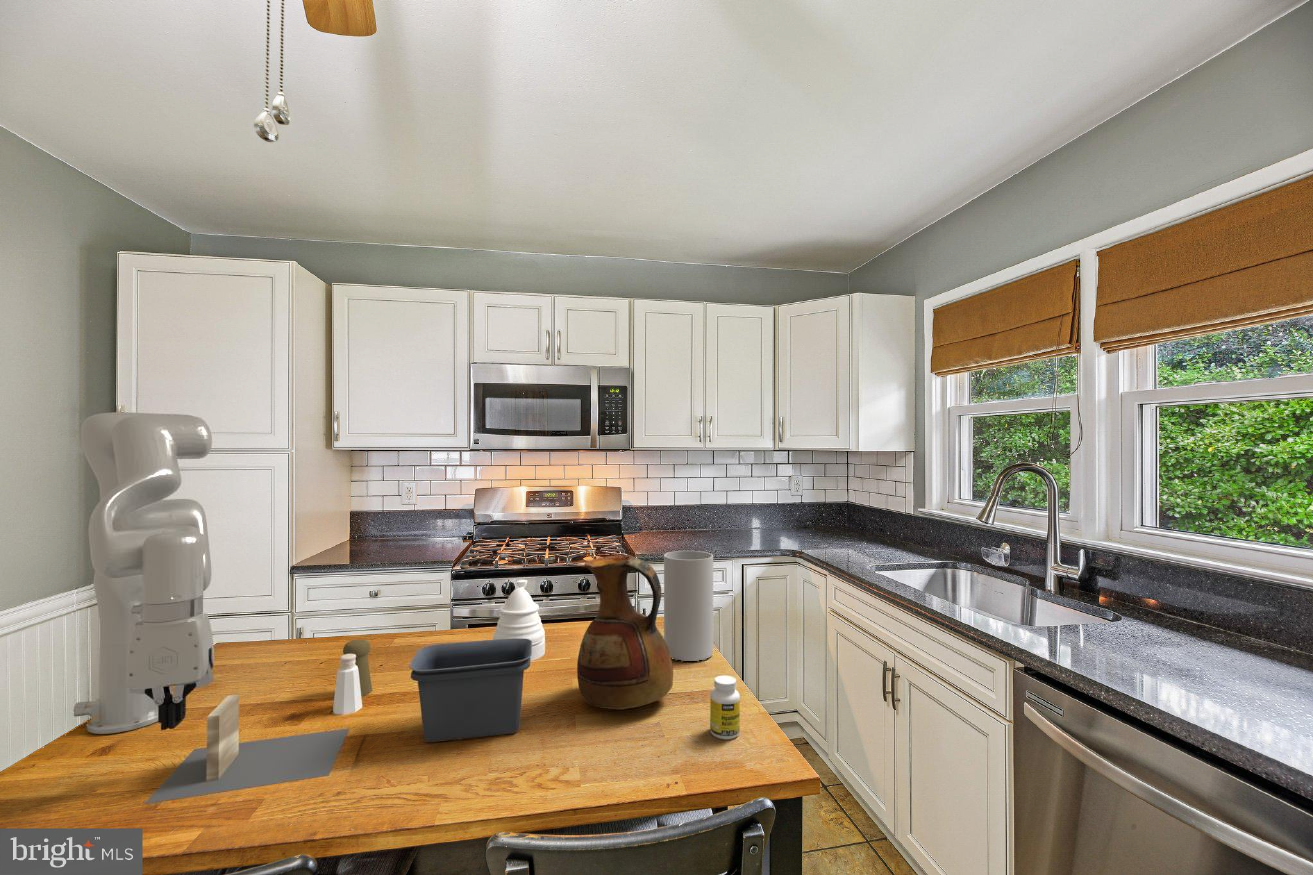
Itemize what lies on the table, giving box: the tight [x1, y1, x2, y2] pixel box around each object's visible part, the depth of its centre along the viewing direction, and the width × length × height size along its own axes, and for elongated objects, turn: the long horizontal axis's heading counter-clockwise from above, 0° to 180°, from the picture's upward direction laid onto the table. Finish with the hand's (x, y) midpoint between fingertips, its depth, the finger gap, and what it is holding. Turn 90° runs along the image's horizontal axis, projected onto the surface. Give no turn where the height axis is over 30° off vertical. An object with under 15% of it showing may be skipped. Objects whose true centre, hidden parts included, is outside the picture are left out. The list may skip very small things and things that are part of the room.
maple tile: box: [206, 693, 240, 781], centre depth 93 cm, size 2×8×10 cm, turn 18°
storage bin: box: [408, 638, 532, 743], centre depth 108 cm, size 21×16×14 cm
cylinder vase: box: [663, 550, 714, 662], centre depth 146 cm, size 12×12×25 cm
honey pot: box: [492, 579, 546, 662], centre depth 146 cm, size 13×13×18 cm
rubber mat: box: [143, 727, 350, 805], centre depth 95 cm, size 24×16×1 cm, turn 108°
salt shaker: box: [332, 654, 363, 716], centre depth 114 cm, size 5×5×11 cm
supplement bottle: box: [709, 675, 741, 740], centre depth 105 cm, size 5×5×10 cm
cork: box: [342, 638, 373, 698], centre depth 123 cm, size 6×6×11 cm
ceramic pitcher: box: [576, 554, 674, 710], centre depth 119 cm, size 20×20×30 cm
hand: (172, 725), depth 91 cm, fingers closed
